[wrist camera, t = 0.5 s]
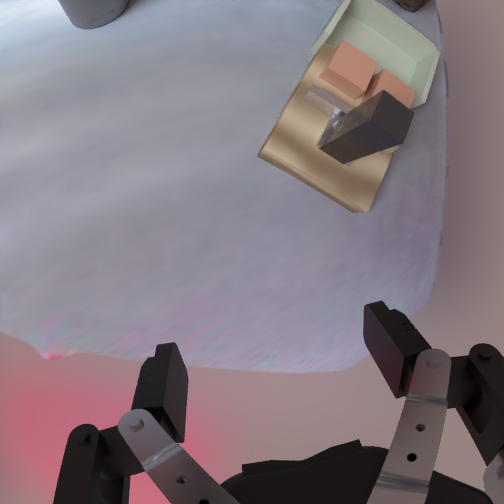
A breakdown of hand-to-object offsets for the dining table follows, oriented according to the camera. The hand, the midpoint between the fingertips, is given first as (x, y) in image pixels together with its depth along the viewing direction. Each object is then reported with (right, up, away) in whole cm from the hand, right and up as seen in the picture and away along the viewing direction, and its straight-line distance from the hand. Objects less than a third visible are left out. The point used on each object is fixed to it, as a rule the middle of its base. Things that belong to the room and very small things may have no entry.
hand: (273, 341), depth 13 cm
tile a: (+10, +25, +21) cm, 34 cm away
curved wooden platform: (+10, +19, +25) cm, 33 cm away
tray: (+16, +32, +25) cm, 44 cm away
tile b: (+15, +23, +22) cm, 35 cm away
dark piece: (+9, +16, +22) cm, 28 cm away
